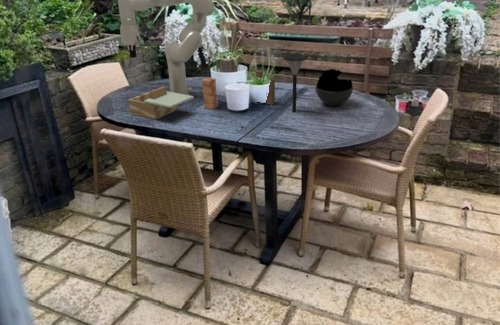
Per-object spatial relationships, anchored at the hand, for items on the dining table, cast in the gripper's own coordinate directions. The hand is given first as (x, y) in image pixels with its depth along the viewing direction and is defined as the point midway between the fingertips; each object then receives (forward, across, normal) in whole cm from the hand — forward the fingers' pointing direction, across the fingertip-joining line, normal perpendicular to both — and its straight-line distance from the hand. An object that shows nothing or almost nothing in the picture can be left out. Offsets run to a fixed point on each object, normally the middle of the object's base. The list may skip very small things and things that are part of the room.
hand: (133, 57), depth 241 cm
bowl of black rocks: (+27, +94, +53) cm, 111 cm away
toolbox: (+27, +15, -4) cm, 31 cm away
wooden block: (+27, +60, +37) cm, 76 cm away
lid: (+19, +27, -4) cm, 33 cm away
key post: (+27, +38, +16) cm, 49 cm away
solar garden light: (+27, +81, +32) cm, 91 cm away
